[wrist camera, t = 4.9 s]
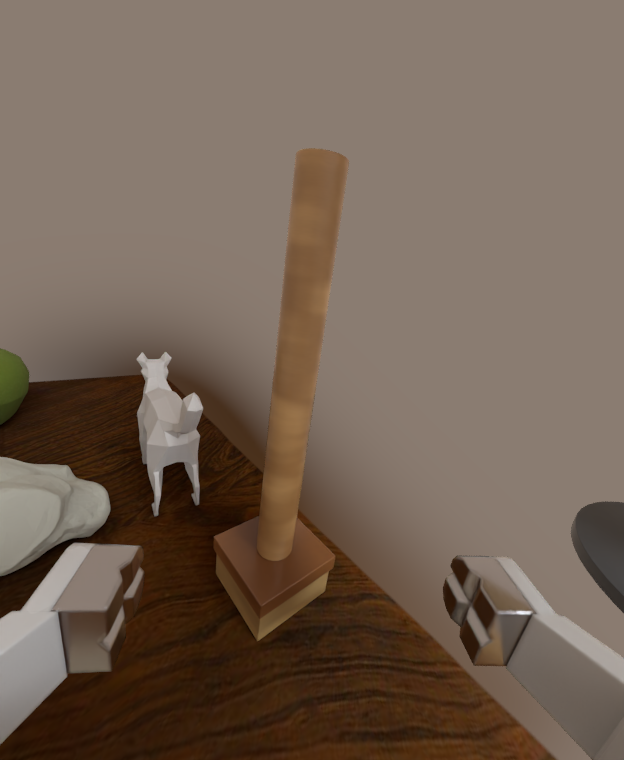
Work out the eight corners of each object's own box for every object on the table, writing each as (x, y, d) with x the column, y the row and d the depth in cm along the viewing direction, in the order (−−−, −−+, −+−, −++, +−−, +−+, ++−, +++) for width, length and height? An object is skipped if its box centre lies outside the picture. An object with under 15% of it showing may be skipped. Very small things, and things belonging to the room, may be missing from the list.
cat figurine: (173, 434, 43) (172, 328, 38) (221, 549, 27) (229, 392, 23) (134, 440, 40) (128, 327, 36) (162, 570, 25) (159, 399, 20)
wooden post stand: (279, 536, 29) (325, 181, 20) (328, 592, 25) (415, 170, 16) (211, 572, 25) (230, 145, 16) (256, 646, 21) (317, 117, 12)
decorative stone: (135, 510, 28) (40, 464, 20) (37, 623, 24) (-129, 622, 16) (68, 451, 32) (-31, 396, 25) (-23, 538, 28) (-176, 505, 20)
